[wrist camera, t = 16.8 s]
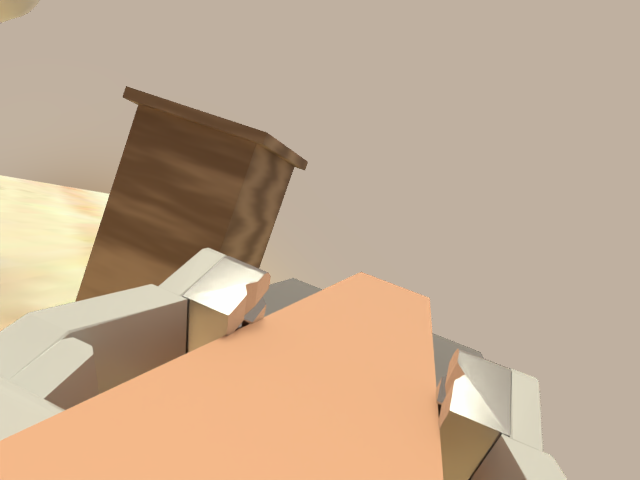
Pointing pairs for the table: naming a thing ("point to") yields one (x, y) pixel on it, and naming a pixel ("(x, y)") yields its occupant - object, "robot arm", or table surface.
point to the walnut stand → (186, 195)
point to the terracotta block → (265, 402)
